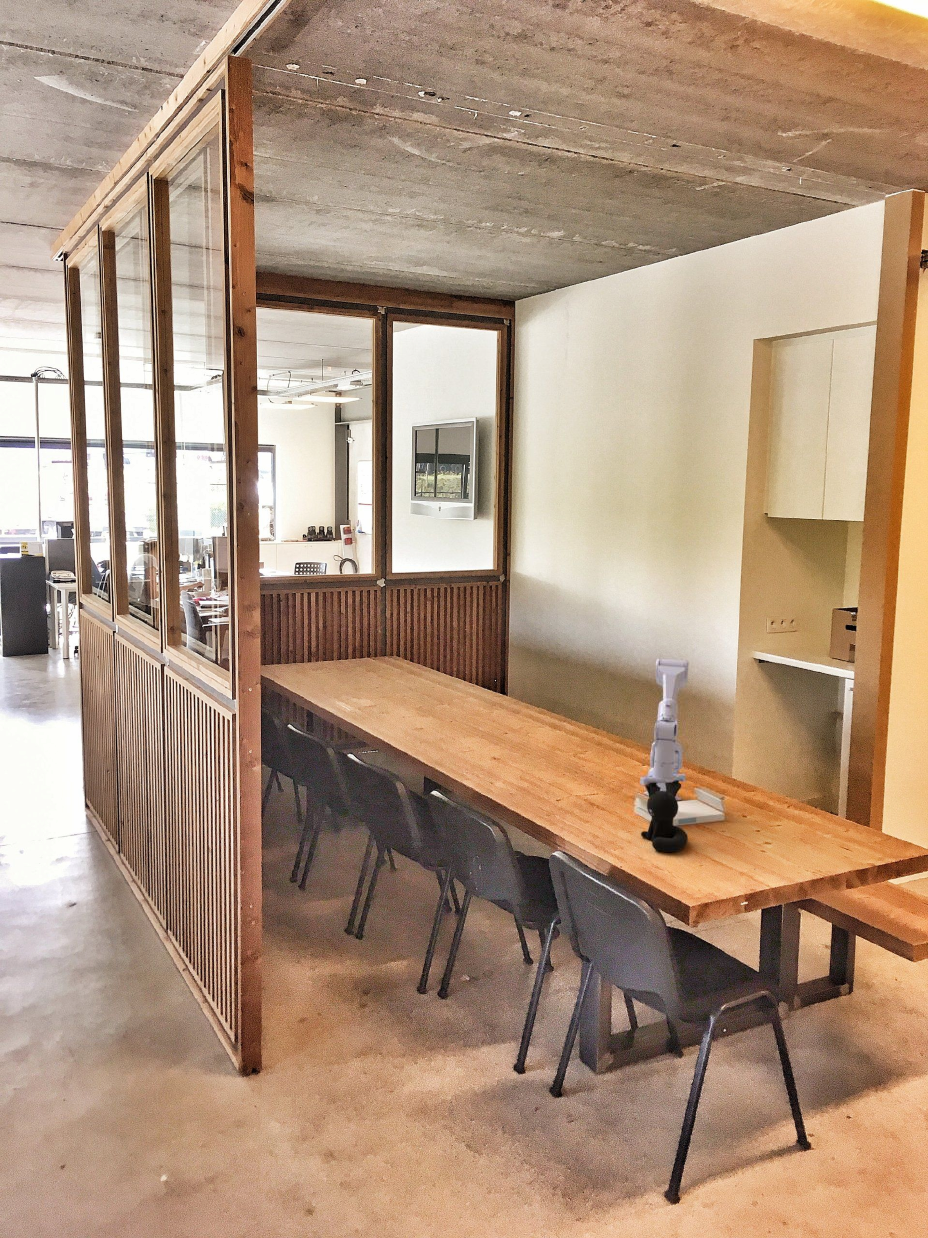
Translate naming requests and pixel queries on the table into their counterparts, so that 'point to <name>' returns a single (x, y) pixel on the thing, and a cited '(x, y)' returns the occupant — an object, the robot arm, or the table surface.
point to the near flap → (641, 801)
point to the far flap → (710, 797)
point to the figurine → (664, 822)
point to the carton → (689, 813)
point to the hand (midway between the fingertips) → (661, 806)
